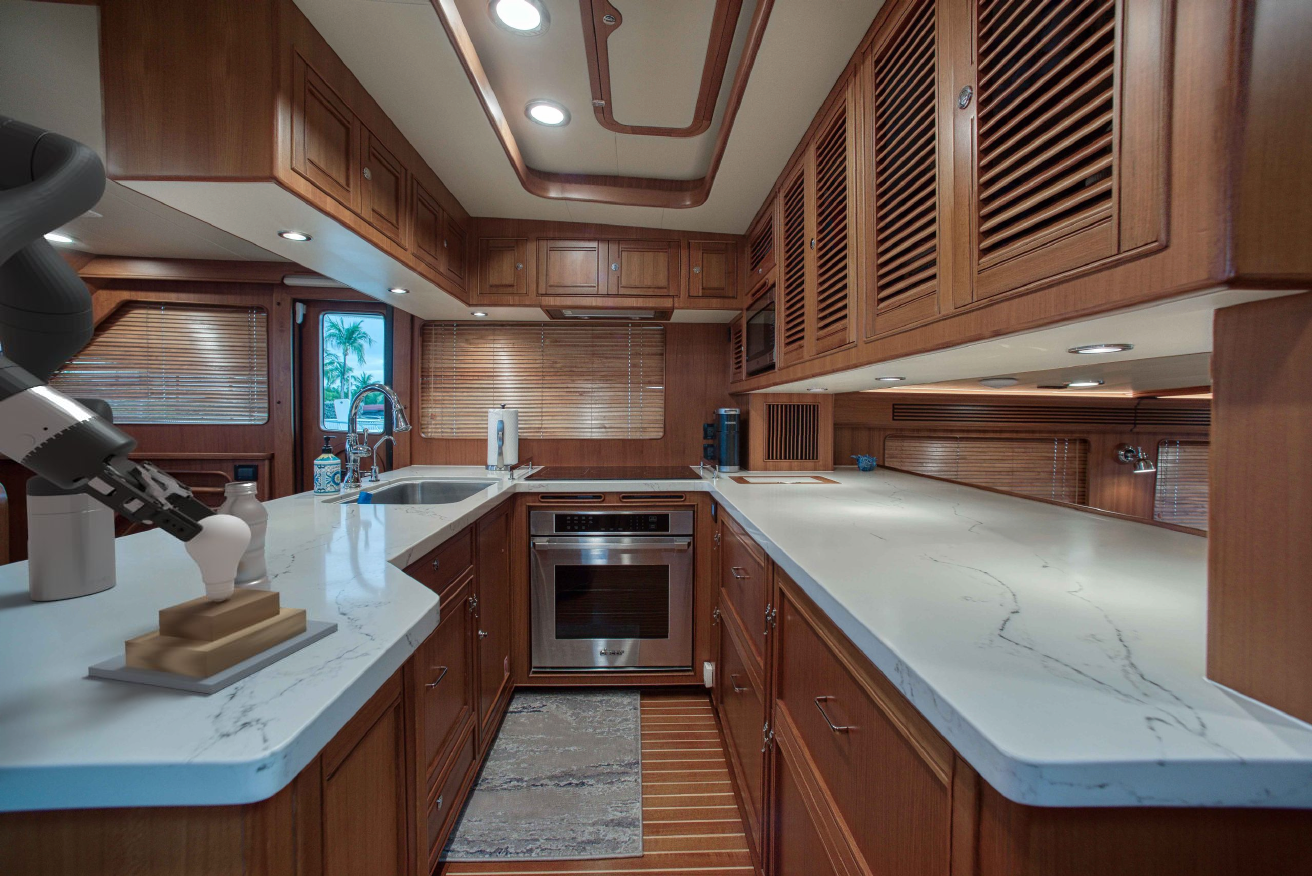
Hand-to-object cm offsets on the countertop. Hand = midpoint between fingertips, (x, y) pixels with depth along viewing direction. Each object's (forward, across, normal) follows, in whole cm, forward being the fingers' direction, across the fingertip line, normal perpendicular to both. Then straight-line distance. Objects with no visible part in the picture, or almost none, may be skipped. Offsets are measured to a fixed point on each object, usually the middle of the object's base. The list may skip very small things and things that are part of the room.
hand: (204, 528), depth 58 cm
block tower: (+13, 0, +10) cm, 16 cm away
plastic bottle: (+13, +17, +11) cm, 24 cm away
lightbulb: (+8, 0, +6) cm, 10 cm away
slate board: (+13, +1, +10) cm, 17 cm away
